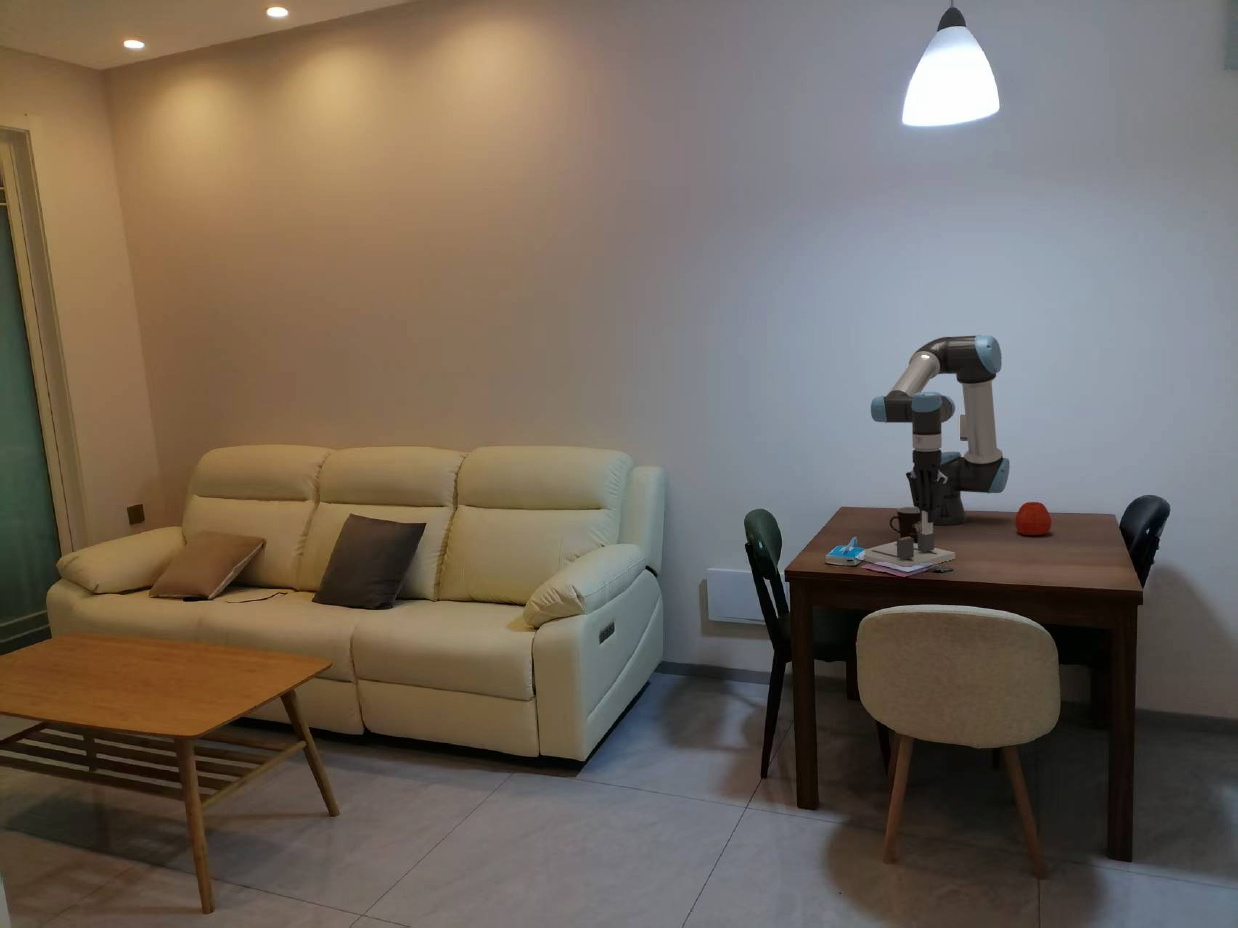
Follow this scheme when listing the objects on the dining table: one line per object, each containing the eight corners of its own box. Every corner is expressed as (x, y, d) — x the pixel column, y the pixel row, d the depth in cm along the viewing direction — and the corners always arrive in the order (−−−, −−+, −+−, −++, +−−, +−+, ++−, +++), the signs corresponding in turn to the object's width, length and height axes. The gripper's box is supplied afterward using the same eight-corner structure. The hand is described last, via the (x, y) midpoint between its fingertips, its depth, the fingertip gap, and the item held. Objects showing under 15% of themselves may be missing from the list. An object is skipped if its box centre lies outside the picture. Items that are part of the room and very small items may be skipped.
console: (900, 546, 272) (900, 539, 272) (955, 559, 255) (955, 552, 254) (854, 558, 262) (854, 551, 262) (907, 573, 245) (907, 565, 245)
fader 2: (927, 547, 259) (927, 529, 258) (934, 549, 257) (933, 530, 256) (917, 550, 257) (917, 531, 256) (924, 552, 255) (924, 533, 254)
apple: (1028, 539, 270) (1029, 506, 268) (1007, 532, 280) (1007, 500, 278) (1058, 535, 272) (1058, 502, 270) (1036, 528, 282) (1036, 496, 280)
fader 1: (906, 555, 253) (906, 536, 252) (913, 556, 251) (913, 537, 250) (897, 557, 251) (896, 538, 250) (904, 559, 249) (903, 540, 248)
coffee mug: (922, 537, 281) (922, 506, 279) (929, 543, 273) (928, 512, 271) (885, 538, 282) (884, 508, 281) (890, 545, 274) (890, 514, 272)
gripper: (898, 448, 243) (899, 531, 246) (937, 452, 232) (937, 540, 235) (917, 445, 247) (917, 527, 250) (956, 449, 236) (956, 535, 239)
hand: (927, 533), depth 243 cm, fingers closed
